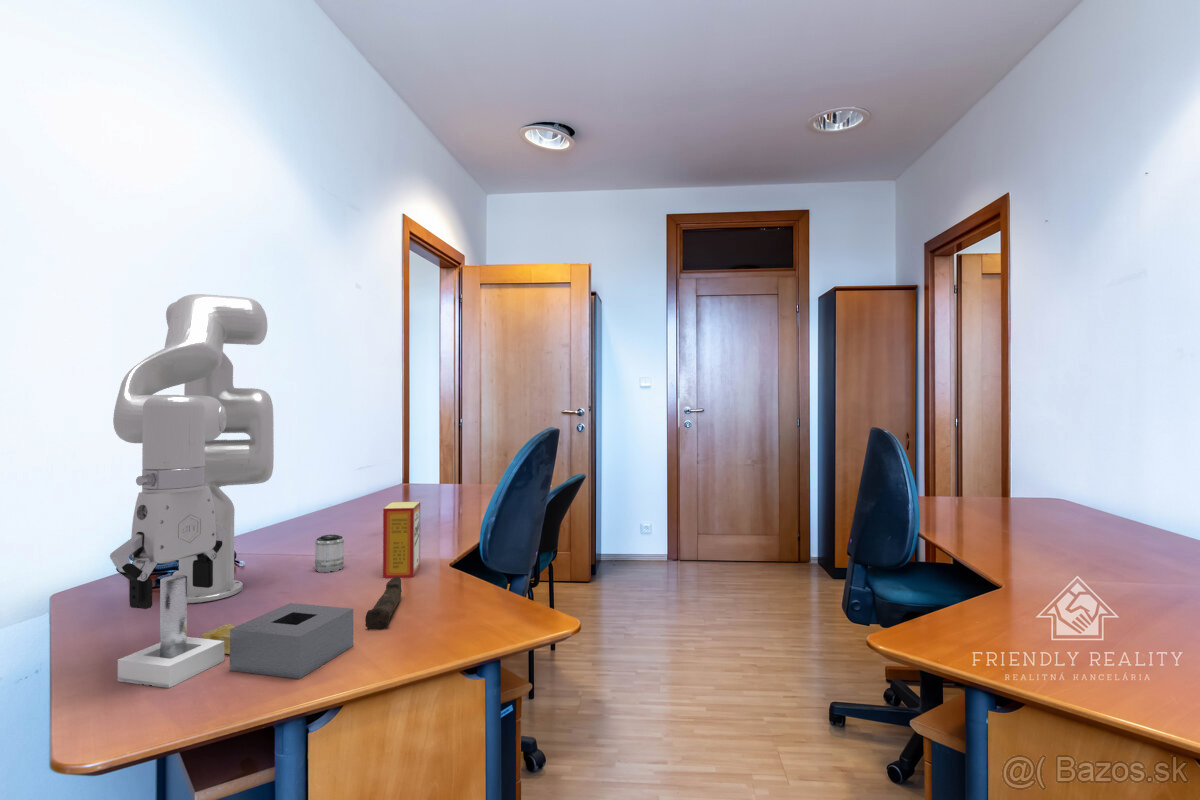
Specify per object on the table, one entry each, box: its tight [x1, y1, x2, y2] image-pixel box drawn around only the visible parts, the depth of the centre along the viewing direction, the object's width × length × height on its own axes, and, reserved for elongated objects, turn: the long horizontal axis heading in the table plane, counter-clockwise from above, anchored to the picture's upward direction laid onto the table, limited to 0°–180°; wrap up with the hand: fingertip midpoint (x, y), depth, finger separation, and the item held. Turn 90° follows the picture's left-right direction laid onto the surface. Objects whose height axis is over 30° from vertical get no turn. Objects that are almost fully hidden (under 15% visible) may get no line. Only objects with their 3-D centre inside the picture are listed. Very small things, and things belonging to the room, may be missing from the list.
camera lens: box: [314, 534, 345, 573], centre depth 141 cm, size 6×6×8 cm
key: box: [201, 623, 235, 655], centre depth 94 cm, size 13×4×3 cm, turn 77°
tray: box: [117, 636, 225, 689], centre depth 87 cm, size 9×9×3 cm
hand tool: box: [364, 577, 402, 630], centre depth 112 cm, size 19×4×5 cm, turn 6°
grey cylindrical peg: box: [159, 575, 188, 659], centre depth 87 cm, size 3×3×13 cm
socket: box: [229, 602, 354, 680], centre depth 92 cm, size 12×12×6 cm
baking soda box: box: [382, 501, 421, 579], centre depth 139 cm, size 10×6×16 cm
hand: (173, 596), depth 87 cm, fingers open, 9 cm apart
